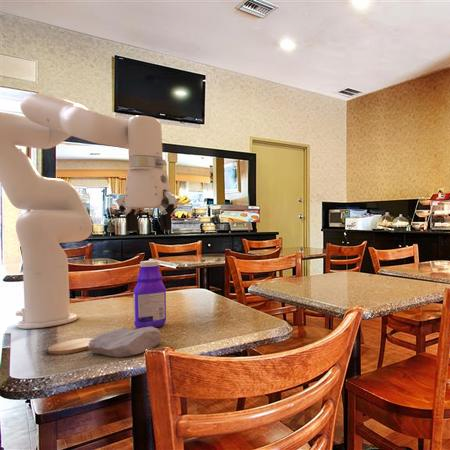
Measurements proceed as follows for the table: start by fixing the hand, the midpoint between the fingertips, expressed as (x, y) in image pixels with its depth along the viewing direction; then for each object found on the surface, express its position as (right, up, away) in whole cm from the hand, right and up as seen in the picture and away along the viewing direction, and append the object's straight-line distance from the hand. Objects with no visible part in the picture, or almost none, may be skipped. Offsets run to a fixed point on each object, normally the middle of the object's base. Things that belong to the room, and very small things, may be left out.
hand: (149, 230), depth 107 cm
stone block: (+6, -26, -18) cm, 32 cm away
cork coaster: (-7, -26, -16) cm, 31 cm away
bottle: (0, -26, +1) cm, 26 cm away
